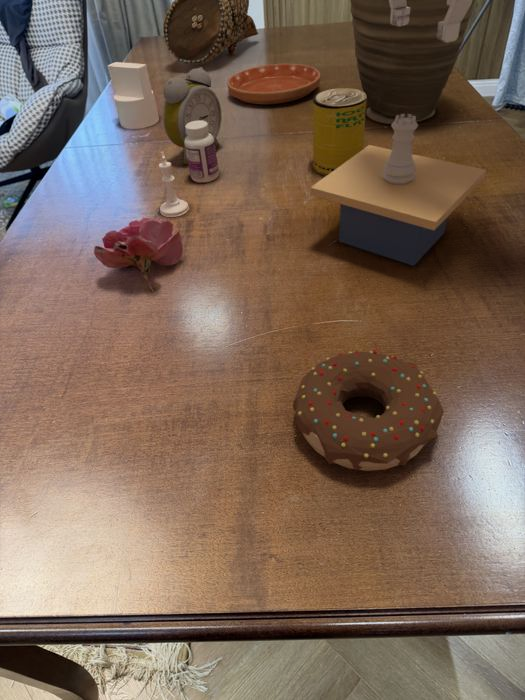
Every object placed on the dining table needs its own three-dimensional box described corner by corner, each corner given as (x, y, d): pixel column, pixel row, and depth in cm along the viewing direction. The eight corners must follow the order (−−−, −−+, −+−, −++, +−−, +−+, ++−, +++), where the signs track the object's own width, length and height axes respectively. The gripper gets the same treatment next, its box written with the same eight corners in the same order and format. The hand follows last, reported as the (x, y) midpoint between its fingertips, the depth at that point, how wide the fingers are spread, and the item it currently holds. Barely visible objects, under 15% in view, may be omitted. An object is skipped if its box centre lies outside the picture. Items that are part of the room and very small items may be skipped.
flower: (123, 277, 78) (133, 212, 76) (179, 291, 76) (191, 225, 74) (75, 277, 68) (86, 201, 66) (140, 294, 65) (152, 216, 63)
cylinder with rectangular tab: (112, 126, 117) (97, 70, 109) (136, 113, 123) (123, 58, 114) (143, 131, 114) (129, 72, 105) (166, 116, 119) (155, 60, 111)
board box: (472, 229, 75) (486, 169, 68) (424, 284, 66) (435, 221, 60) (365, 200, 84) (369, 144, 77) (310, 245, 75) (310, 187, 69)
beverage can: (370, 160, 94) (375, 91, 86) (348, 180, 89) (351, 109, 81) (328, 152, 98) (329, 85, 90) (304, 170, 93) (303, 102, 85)
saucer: (215, 107, 122) (212, 90, 119) (247, 77, 137) (245, 62, 134) (306, 110, 115) (306, 93, 113) (329, 79, 130) (329, 63, 128)
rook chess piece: (400, 189, 66) (408, 127, 61) (374, 179, 69) (379, 118, 63) (422, 177, 68) (431, 116, 63) (396, 168, 71) (402, 108, 65)
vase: (480, 126, 104) (508, -53, 80) (363, 147, 106) (358, -20, 83) (448, 74, 119) (465, -89, 96) (347, 94, 122) (339, -60, 99)
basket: (178, -6, 162) (136, -5, 134) (236, -50, 153) (204, -59, 125) (216, 68, 172) (184, 83, 144) (273, 31, 163) (251, 39, 135)
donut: (362, 509, 44) (366, 479, 41) (269, 414, 52) (266, 382, 49) (468, 427, 50) (479, 393, 46) (368, 352, 58) (372, 319, 54)
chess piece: (162, 219, 84) (148, 161, 77) (158, 206, 87) (144, 149, 80) (191, 213, 85) (180, 155, 78) (186, 200, 88) (175, 143, 81)
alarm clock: (188, 168, 98) (173, 84, 87) (164, 161, 101) (146, 79, 90) (227, 146, 104) (217, 65, 94) (202, 140, 107) (190, 62, 97)
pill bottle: (214, 168, 97) (207, 116, 90) (223, 179, 93) (215, 125, 86) (187, 174, 96) (177, 122, 89) (195, 186, 92) (185, 132, 85)
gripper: (547, -141, 42) (506, 45, 52) (409, -132, 56) (397, 13, 66) (484, -132, 41) (454, 57, 51) (359, -125, 55) (355, 22, 65)
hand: (421, 32), depth 58 cm, fingers open, 8 cm apart
